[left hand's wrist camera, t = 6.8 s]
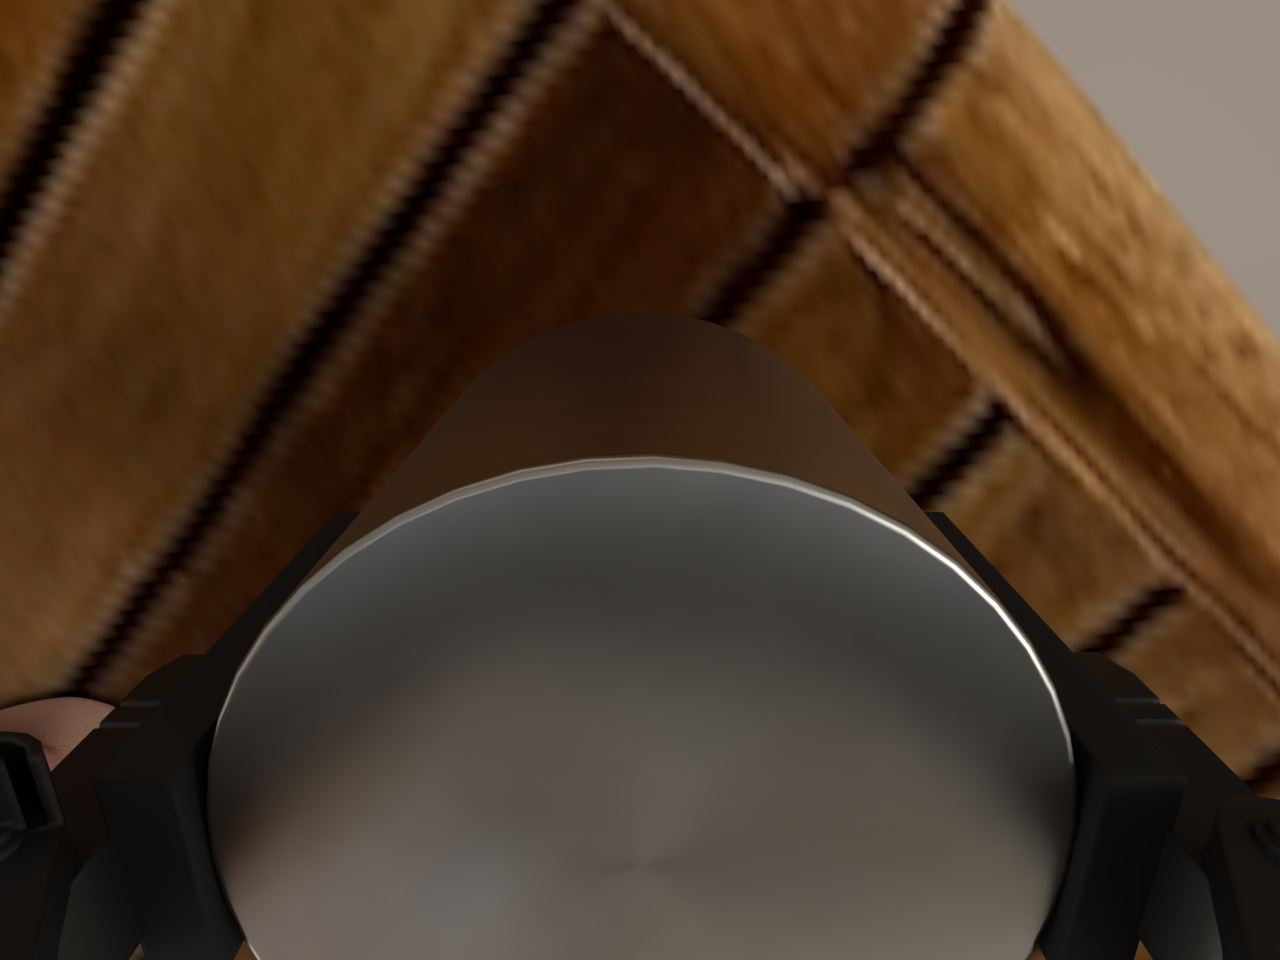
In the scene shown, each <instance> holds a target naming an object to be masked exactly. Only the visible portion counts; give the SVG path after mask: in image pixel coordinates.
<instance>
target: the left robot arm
mask: <svg viewBox="0 0 1280 960" xmlns="http://www.w3.org/2000/svg"><path fill="white" fill-rule="evenodd" d="M924 513H925V514H926V516H927V517H928V518H929V519H930V520H931V521H932V522H933V524H934V525H935V526H936V527H937V528H938V529H939V531H940V532H941V533H942V534H943V535H944V536H945V537H946V539H947V540H948V541H949V542H950V543H951V544H952V546H953V547H954V548H955V549H956V550H957V551H958V552H959V554H960V555H961V556H962V557H963V558H964V559H965V560H966V562H967V563H968V564H969V565H970V566H971V567H972V569H973V570H974V571H975V572H976V573H977V574H978V575H979V577H980V578H981V579H982V580H983V581H984V582H985V583H986V585H987V586H988V587H989V588H990V589H991V590H992V592H993V593H994V594H995V595H996V596H997V597H998V599H999V600H1000V601H1001V603H1002V604H1003V605H1004V606H1005V608H1006V609H1007V610H1008V612H1009V613H1010V614H1011V616H1012V617H1013V618H1014V619H1015V621H1016V622H1017V623H1018V625H1019V626H1020V627H1021V629H1022V630H1023V631H1024V633H1025V634H1026V635H1027V636H1028V638H1029V639H1030V640H1031V642H1032V644H1033V646H1034V648H1035V650H1036V652H1037V654H1038V655H1039V657H1040V659H1041V661H1042V663H1043V665H1044V667H1045V669H1046V670H1047V672H1048V674H1049V676H1050V678H1051V680H1052V682H1053V684H1054V686H1055V689H1056V692H1057V695H1058V698H1059V701H1060V704H1061V707H1062V710H1063V713H1064V716H1065V719H1066V722H1067V725H1068V728H1069V731H1070V737H1071V744H1072V750H1073V757H1074V764H1075V770H1076V777H1077V813H1076V831H1075V836H1074V842H1073V847H1072V852H1071V857H1070V862H1069V868H1068V872H1067V875H1066V878H1065V880H1064V883H1063V886H1062V889H1061V891H1060V894H1059V897H1058V900H1057V902H1056V905H1055V908H1054V911H1053V913H1052V915H1051V917H1050V919H1049V921H1048V922H1047V924H1046V926H1045V928H1044V930H1043V932H1042V933H1041V935H1040V937H1039V939H1038V941H1037V944H1038V946H1039V947H1040V949H1041V951H1042V953H1043V955H1044V957H1045V959H1046V960H1134V957H1135V954H1136V950H1137V947H1138V944H1139V941H1140V940H1141V942H1142V943H1143V945H1144V946H1145V948H1146V949H1147V951H1148V952H1149V954H1150V955H1151V957H1152V958H1153V960H1280V800H1277V799H1271V798H1265V797H1259V796H1257V795H1256V794H1255V793H1254V792H1253V791H1252V790H1251V789H1250V788H1249V787H1248V786H1247V785H1246V784H1245V783H1244V782H1243V781H1242V780H1241V779H1240V778H1239V777H1238V776H1237V775H1236V774H1235V773H1234V772H1233V771H1232V770H1231V769H1230V768H1229V767H1228V766H1227V765H1226V764H1225V763H1224V762H1223V761H1222V760H1221V759H1220V758H1219V757H1218V756H1217V755H1215V754H1214V753H1213V752H1212V751H1211V750H1210V749H1209V748H1208V747H1207V746H1206V745H1205V744H1204V743H1203V742H1202V741H1201V740H1200V739H1199V738H1198V737H1197V736H1196V735H1195V734H1194V733H1193V732H1192V731H1191V730H1190V729H1189V728H1188V727H1187V726H1182V725H1181V720H1180V719H1179V718H1178V717H1177V716H1176V715H1175V714H1174V713H1173V712H1172V711H1171V710H1170V709H1169V708H1168V707H1167V706H1166V705H1165V704H1160V702H1159V698H1158V697H1157V696H1156V695H1155V694H1154V693H1153V692H1152V691H1151V690H1150V689H1149V688H1148V687H1147V686H1146V685H1145V684H1144V683H1143V682H1142V681H1141V680H1140V679H1139V678H1138V677H1137V676H1136V675H1135V674H1133V673H1132V672H1130V671H1128V670H1127V669H1125V668H1123V667H1121V666H1120V665H1118V664H1116V663H1115V662H1113V661H1111V660H1110V659H1108V658H1106V657H1104V656H1103V655H1101V654H1099V653H1098V652H1072V651H1071V650H1070V649H1069V648H1068V647H1067V646H1066V645H1065V644H1064V642H1063V641H1062V640H1061V639H1060V638H1059V637H1058V636H1057V635H1056V634H1055V633H1054V632H1053V631H1052V630H1051V628H1050V627H1049V626H1048V625H1047V624H1046V623H1045V622H1044V621H1043V620H1042V619H1041V618H1040V617H1039V615H1038V614H1037V613H1036V612H1035V611H1034V610H1033V609H1032V608H1031V607H1030V606H1029V605H1028V604H1027V603H1026V601H1025V600H1024V599H1023V598H1022V597H1021V596H1020V595H1019V594H1018V593H1017V592H1016V591H1015V590H1014V588H1013V587H1012V586H1011V585H1010V584H1009V583H1008V582H1007V581H1006V580H1005V579H1004V578H1003V577H1002V576H1001V574H1000V573H999V572H998V571H997V570H996V569H995V568H994V567H993V566H992V565H991V564H990V563H989V561H988V560H987V559H986V558H985V557H984V556H983V555H982V554H981V553H980V552H979V551H978V550H977V548H976V547H975V546H974V545H973V544H972V543H971V542H970V541H969V540H968V539H967V538H966V537H965V536H964V534H963V533H962V532H961V531H960V530H959V529H958V528H957V527H956V526H955V525H954V524H953V523H952V521H951V520H950V519H949V518H948V517H947V516H946V515H945V514H944V513H943V512H924ZM359 514H360V512H336V513H335V514H334V516H333V517H332V518H331V519H330V520H329V521H328V522H327V523H326V524H325V525H324V526H323V527H322V528H321V530H320V531H319V532H318V533H317V534H316V535H315V536H314V537H313V538H312V539H311V540H310V541H309V543H308V544H307V545H306V546H305V547H304V548H303V549H302V550H301V551H300V552H299V553H298V554H297V555H296V557H295V558H294V559H293V560H292V561H291V562H290V563H289V564H288V565H287V566H286V567H285V568H284V570H283V571H282V572H281V573H280V574H279V575H278V576H277V577H276V578H275V579H274V580H273V581H272V582H271V584H270V585H269V586H268V587H267V588H266V589H265V590H264V591H263V592H262V593H261V594H260V595H259V597H258V598H257V599H256V600H255V601H254V602H253V603H252V604H251V605H250V606H249V607H248V608H247V609H246V611H245V612H244V613H243V614H242V615H241V616H240V617H239V618H238V619H237V620H236V621H235V622H234V624H233V625H232V626H231V627H230V628H229V629H228V630H227V631H226V632H225V633H224V634H223V635H222V636H221V638H220V639H219V640H218V641H217V642H216V643H215V644H214V645H213V646H212V647H211V648H210V649H209V651H208V652H207V653H206V654H205V655H182V656H180V657H178V658H177V659H175V660H173V661H172V662H170V663H168V664H166V665H165V666H163V667H161V668H160V669H158V670H156V671H155V672H153V673H151V674H150V675H148V676H146V677H145V678H144V679H143V680H142V681H141V682H140V683H139V684H138V685H137V686H136V687H135V688H134V689H133V690H132V691H131V692H130V693H129V694H128V695H127V696H126V697H125V698H124V699H123V700H122V701H121V705H120V707H115V708H114V709H113V710H112V711H111V712H110V713H109V714H108V715H107V716H106V717H105V718H104V719H103V720H102V721H101V722H100V726H99V728H94V729H93V730H92V731H91V732H90V733H89V734H88V735H87V736H86V737H85V738H84V739H83V740H82V741H81V742H80V743H79V744H78V745H77V746H76V747H75V748H74V749H73V750H72V751H71V752H70V753H69V754H68V755H67V756H66V757H65V758H64V759H63V760H62V761H61V762H60V763H59V764H58V765H57V766H56V767H55V768H54V769H53V770H52V771H50V768H49V765H48V762H47V759H46V756H45V753H44V749H43V746H42V743H41V741H39V740H38V739H36V738H35V737H33V736H31V735H30V734H28V733H20V732H9V731H2V732H0V960H129V959H130V957H131V956H132V954H133V953H134V951H135V950H136V948H137V947H138V945H139V943H141V946H142V949H143V953H144V956H145V959H146V960H234V958H235V956H236V954H237V952H238V950H239V948H240V946H241V945H242V943H243V941H244V938H243V936H242V934H241V932H240V929H239V927H238V925H237V923H236V921H235V919H234V917H233V915H232V913H231V911H230V908H229V906H228V904H227V902H226V900H225V898H224V894H223V891H222V888H221V884H220V881H219V878H218V874H217V871H216V868H215V864H214V861H213V858H212V851H211V844H210V836H209V828H208V821H207V813H206V810H207V784H208V764H209V758H210V753H211V749H212V744H213V739H214V735H215V730H216V725H217V721H218V716H219V713H220V711H221V708H222V706H223V703H224V701H225V698H226V696H227V693H228V691H229V688H230V686H231V683H232V681H233V678H234V676H235V673H236V671H237V669H238V667H239V665H240V664H241V662H242V661H243V659H244V657H245V656H246V654H247V652H248V651H249V649H250V648H251V646H252V644H253V643H254V641H255V639H256V638H257V636H258V634H259V633H260V631H261V630H262V628H263V626H264V625H265V624H266V622H267V621H268V620H269V619H270V618H271V617H272V615H273V614H274V613H275V612H276V611H277V610H278V608H279V607H280V606H281V605H282V604H283V602H284V601H285V600H286V599H287V598H288V597H289V595H290V594H291V593H292V592H293V591H294V590H295V588H296V587H297V586H298V585H299V584H300V583H301V581H302V580H303V579H304V578H305V577H306V576H307V574H308V573H309V572H310V571H311V570H312V569H313V567H314V566H315V565H316V564H317V563H318V562H319V560H320V559H321V558H322V557H323V556H324V555H325V553H326V552H327V551H328V550H329V549H330V547H331V546H332V545H333V544H334V543H335V542H336V540H337V539H338V538H339V537H340V536H341V535H342V533H343V532H344V531H345V530H346V529H347V528H348V526H349V525H350V524H351V523H352V522H353V521H354V519H355V518H356V517H357V516H358V515H359Z"/></svg>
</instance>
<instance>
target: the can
mask: <svg viewBox="0 0 1280 960" xmlns="http://www.w3.org/2000/svg"><path fill="white" fill-rule="evenodd" d="M206 813H207V821H208V828H209V836H210V844H211V851H212V858H213V861H214V864H215V868H216V871H217V874H218V878H219V881H220V884H221V888H222V891H223V894H224V898H225V900H226V902H227V904H228V906H229V908H230V911H231V913H232V915H233V917H234V919H235V921H236V923H237V925H238V927H239V929H240V932H241V934H242V936H243V938H244V939H245V941H246V942H247V944H248V945H249V947H250V948H251V950H252V951H253V953H254V955H255V956H256V958H257V959H258V960H1026V959H1027V957H1028V956H1029V954H1030V953H1031V952H1032V950H1033V948H1034V946H1035V945H1036V943H1037V941H1038V939H1039V937H1040V935H1041V933H1042V932H1043V930H1044V928H1045V926H1046V924H1047V922H1048V921H1049V919H1050V917H1051V915H1052V913H1053V911H1054V908H1055V905H1056V902H1057V900H1058V897H1059V894H1060V891H1061V889H1062V886H1063V883H1064V880H1065V878H1066V875H1067V872H1068V868H1069V862H1070V857H1071V852H1072V847H1073V842H1074V836H1075V831H1076V813H1077V777H1076V770H1075V764H1074V757H1073V750H1072V744H1071V737H1070V731H1069V728H1068V725H1067V722H1066V719H1065V716H1064V713H1063V710H1062V707H1061V704H1060V701H1059V698H1058V695H1057V692H1056V689H1055V686H1054V684H1053V682H1052V680H1051V678H1050V676H1049V674H1048V672H1047V670H1046V669H1045V667H1044V665H1043V663H1042V661H1041V659H1040V657H1039V655H1038V654H1037V652H1036V650H1035V648H1034V646H1033V644H1032V642H1031V640H1030V639H1029V638H1028V636H1027V635H1026V634H1025V633H1024V631H1023V630H1022V629H1021V627H1020V626H1019V625H1018V623H1017V622H1016V621H1015V619H1014V618H1013V617H1012V616H1011V614H1010V613H1009V612H1008V610H1007V609H1006V608H1005V606H1004V605H1003V604H1002V603H1001V601H1000V600H999V599H998V597H997V596H996V595H995V594H994V593H993V592H992V590H991V589H990V588H989V587H988V586H987V585H986V583H985V582H984V581H983V580H982V579H981V578H980V577H979V575H978V574H977V573H976V572H975V571H974V570H973V569H972V567H971V566H970V565H969V564H968V563H967V562H966V560H965V559H964V558H963V557H962V556H961V555H960V554H959V552H958V551H957V550H956V549H955V548H954V547H953V546H952V544H951V543H950V542H949V541H948V540H947V539H946V537H945V536H944V535H943V534H942V533H941V532H940V531H939V529H938V528H937V527H936V526H935V525H934V524H933V522H932V521H931V520H930V519H929V518H928V517H927V516H926V514H925V513H924V512H923V511H922V510H921V509H920V508H919V506H918V505H917V504H916V503H915V502H914V501H913V499H912V498H911V497H910V496H909V495H908V494H907V493H906V491H905V490H904V489H903V488H902V487H901V486H900V485H899V483H898V482H897V481H896V480H895V479H894V478H893V476H892V475H891V474H890V473H889V472H888V471H887V470H886V468H885V467H884V466H883V465H882V464H881V463H880V461H879V460H878V459H877V458H876V457H875V456H874V455H873V453H872V452H871V451H870V450H869V449H868V448H867V447H866V445H865V444H864V443H863V442H862V441H861V440H860V438H859V437H858V436H857V435H856V434H855V433H854V432H853V430H852V429H851V428H850V427H849V426H848V425H847V424H846V422H845V421H844V420H843V419H842V418H841V417H840V415H839V414H838V413H837V412H836V411H835V410H834V409H833V407H832V406H831V405H830V404H829V403H828V402H827V400H826V399H825V398H824V397H823V396H822V395H821V394H820V392H819V391H818V390H817V389H816V388H815V387H814V386H813V385H812V384H811V383H810V382H809V381H808V380H807V379H806V378H805V377H804V376H803V375H802V374H801V373H800V372H799V371H798V370H797V369H796V368H794V367H793V366H792V365H791V364H789V363H788V362H786V361H785V360H784V359H782V358H781V357H780V356H778V355H777V354H775V353H774V352H773V351H771V350H770V349H769V348H767V347H765V346H763V345H761V344H759V343H757V342H756V341H754V340H752V339H750V338H748V337H746V336H744V335H742V334H740V333H738V332H735V331H732V330H730V329H727V328H724V327H722V326H719V325H716V324H714V323H711V322H707V321H702V320H698V319H693V318H689V317H684V316H680V315H670V314H659V313H648V312H645V313H621V314H610V315H605V316H599V317H593V318H588V319H582V320H579V321H576V322H573V323H570V324H566V325H563V326H560V327H557V328H554V329H551V330H549V331H547V332H545V333H543V334H540V335H538V336H536V337H534V338H532V339H530V340H528V341H526V342H524V343H522V344H520V345H519V346H517V347H516V348H514V349H513V350H511V351H510V352H508V353H507V354H505V355H504V356H502V357H500V358H499V359H497V360H496V361H495V362H494V363H493V364H492V365H490V366H489V367H488V368H487V369H486V370H485V371H484V372H482V373H481V374H480V375H479V376H478V377H477V378H476V379H474V380H473V381H472V383H471V384H470V385H469V386H468V387H467V388H466V390H465V391H464V392H463V393H462V394H461V395H460V397H459V398H458V399H457V400H456V401H455V402H454V404H453V405H452V406H451V407H450V408H449V409H448V411H447V412H446V413H445V414H444V415H443V416H442V418H441V419H440V420H439V421H438V422H437V423H436V425H435V426H434V427H433V428H432V429H431V430H430V432H429V433H428V434H427V435H426V436H425V437H424V439H423V440H422V441H421V442H420V443H419V444H418V446H417V447H416V448H415V449H414V450H413V452H412V453H411V454H410V455H409V456H408V457H407V459H406V460H405V461H404V462H403V463H402V464H401V466H400V467H399V468H398V469H397V470H396V471H395V473H394V474H393V475H392V476H391V477H390V478H389V480H388V481H387V482H386V483H385V484H384V485H383V487H382V488H381V489H380V490H379V491H378V492H377V494H376V495H375V496H374V497H373V498H372V499H371V501H370V502H369V503H368V504H367V505H366V507H365V508H364V509H363V510H362V511H361V512H360V514H359V515H358V516H357V517H356V518H355V519H354V521H353V522H352V523H351V524H350V525H349V526H348V528H347V529H346V530H345V531H344V532H343V533H342V535H341V536H340V537H339V538H338V539H337V540H336V542H335V543H334V544H333V545H332V546H331V547H330V549H329V550H328V551H327V552H326V553H325V555H324V556H323V557H322V558H321V559H320V560H319V562H318V563H317V564H316V565H315V566H314V567H313V569H312V570H311V571H310V572H309V573H308V574H307V576H306V577H305V578H304V579H303V580H302V581H301V583H300V584H299V585H298V586H297V587H296V588H295V590H294V591H293V592H292V593H291V594H290V595H289V597H288V598H287V599H286V600H285V601H284V602H283V604H282V605H281V606H280V607H279V608H278V610H277V611H276V612H275V613H274V614H273V615H272V617H271V618H270V619H269V620H268V621H267V622H266V624H265V625H264V626H263V628H262V630H261V631H260V633H259V634H258V636H257V638H256V639H255V641H254V643H253V644H252V646H251V648H250V649H249V651H248V652H247V654H246V656H245V657H244V659H243V661H242V662H241V664H240V665H239V667H238V669H237V671H236V673H235V676H234V678H233V681H232V683H231V686H230V688H229V691H228V693H227V696H226V698H225V701H224V703H223V706H222V708H221V711H220V713H219V716H218V721H217V725H216V730H215V735H214V739H213V744H212V749H211V753H210V758H209V764H208V784H207V810H206Z"/></svg>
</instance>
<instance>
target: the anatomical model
mask: <svg viewBox="0 0 1280 960" xmlns="http://www.w3.org/2000/svg"><path fill="white" fill-rule="evenodd" d="M114 708H115V707H114V706H112V705H109V704H106V703H103V702H100V701H96V700H93V699H87V698H81V697H61V698H52V699H44V700H39V701H34V702H30V703H25V704H21V705H17V706H14V707H10V708H6V709H3V710H0V732H2V731H9V732H20V733H28V734H30V735H31V736H33V737H35V738H36V739H38V740H39V741H41V743H42V746H43V749H44V753H45V756H46V759H47V762H48V765H49V768H50V771H52V770H53V769H54V768H55V767H56V766H57V765H58V764H59V763H60V762H61V761H62V760H63V759H64V758H65V757H66V756H67V755H68V754H69V753H70V752H71V751H72V750H73V749H74V748H75V747H76V746H77V745H78V744H79V743H80V742H81V741H82V740H83V739H84V738H85V737H86V736H87V735H88V734H89V733H90V732H91V731H92V730H93V729H94V728H99V726H100V722H101V721H102V720H103V719H104V718H105V717H106V716H107V715H108V714H109V713H110V712H111V711H112V710H113V709H114Z"/></svg>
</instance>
